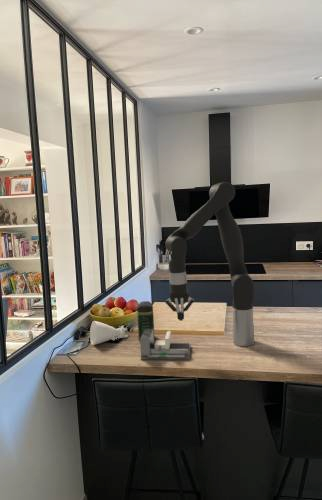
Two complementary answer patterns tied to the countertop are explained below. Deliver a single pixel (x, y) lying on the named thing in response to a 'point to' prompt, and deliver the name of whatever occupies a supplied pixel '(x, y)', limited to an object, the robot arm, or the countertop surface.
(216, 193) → the robot arm
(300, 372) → the countertop surface
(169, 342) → the cream t-shaped handle
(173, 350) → the frame
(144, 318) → the coffee jar
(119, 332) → the funnel
